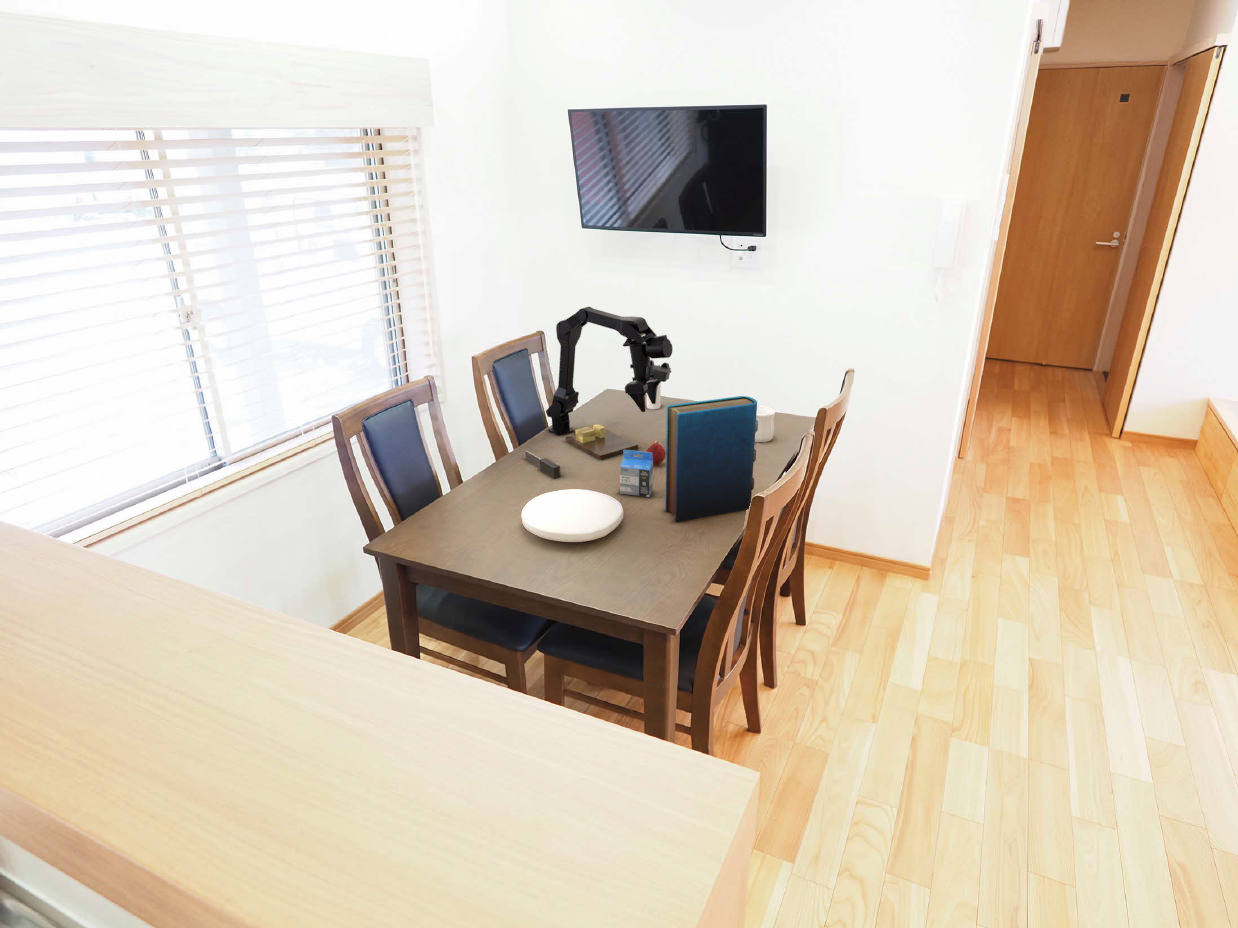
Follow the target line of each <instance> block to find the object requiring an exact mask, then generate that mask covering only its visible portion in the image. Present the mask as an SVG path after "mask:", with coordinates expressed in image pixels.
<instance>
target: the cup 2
mask: <svg viewBox="0 0 1238 928" xmlns="http://www.w3.org/2000/svg"><path fill="white" fill-rule="evenodd" d="M775 415H776V411H775V410H774V409H773V408H771V407H768V406H766V405H757V414H756V420H757V421H758V430H757V432H755V443H767V442H770V441H772V440H773V438H774V435H775Z"/></svg>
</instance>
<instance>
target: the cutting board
mask: <svg viewBox="0 0 1238 928" xmlns="http://www.w3.org/2000/svg"><path fill="white" fill-rule="evenodd" d="M564 439H565V443H567V444H570V445H571V446H574V447H575V448H577V449H578V450H581V451H582V452H584V453H586V454H588V455H590V456H592V457H594V458H596V459H597V460H600V461H603V460H605V459H609V458H613V457H615V456H619V455H622V454H624V452H623V450H632V451H637V450H638V449H639V444H638V443H635V442H633V441H632V440H629V439H627V438H625V437H623V436H621V435H619V434H617V433H614V432H612V431H611V430H608V429H606V428H605V437H604V438H598V437H596V436H595V430H594V429H593V427H590V426H585V427H582V428H577V429H575V434H572V435H569V436H565V438H564Z"/></svg>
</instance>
